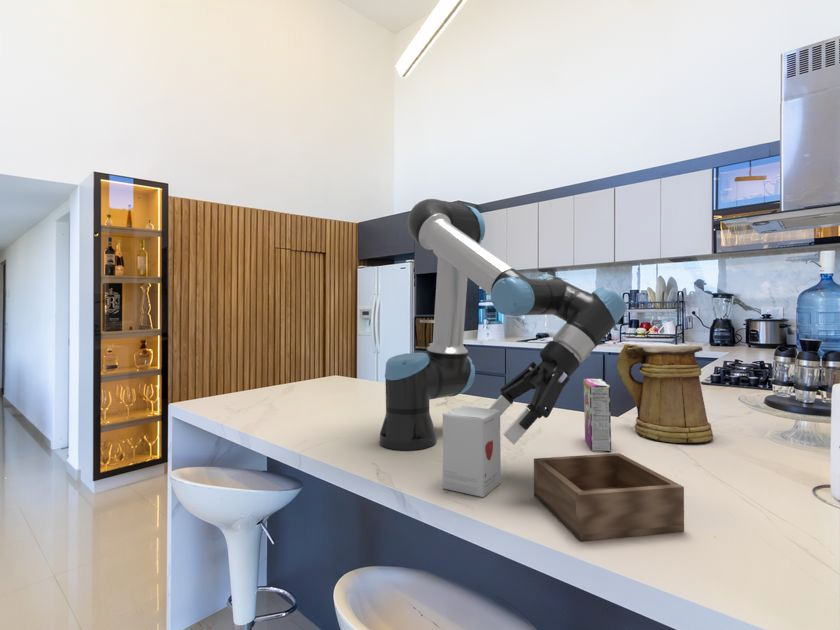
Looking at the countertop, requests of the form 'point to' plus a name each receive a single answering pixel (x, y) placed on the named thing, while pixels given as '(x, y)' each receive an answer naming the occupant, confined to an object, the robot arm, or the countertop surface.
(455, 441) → the supplement box
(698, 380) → the tankard
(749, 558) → the countertop surface
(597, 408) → the candy bar box
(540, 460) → the crate
